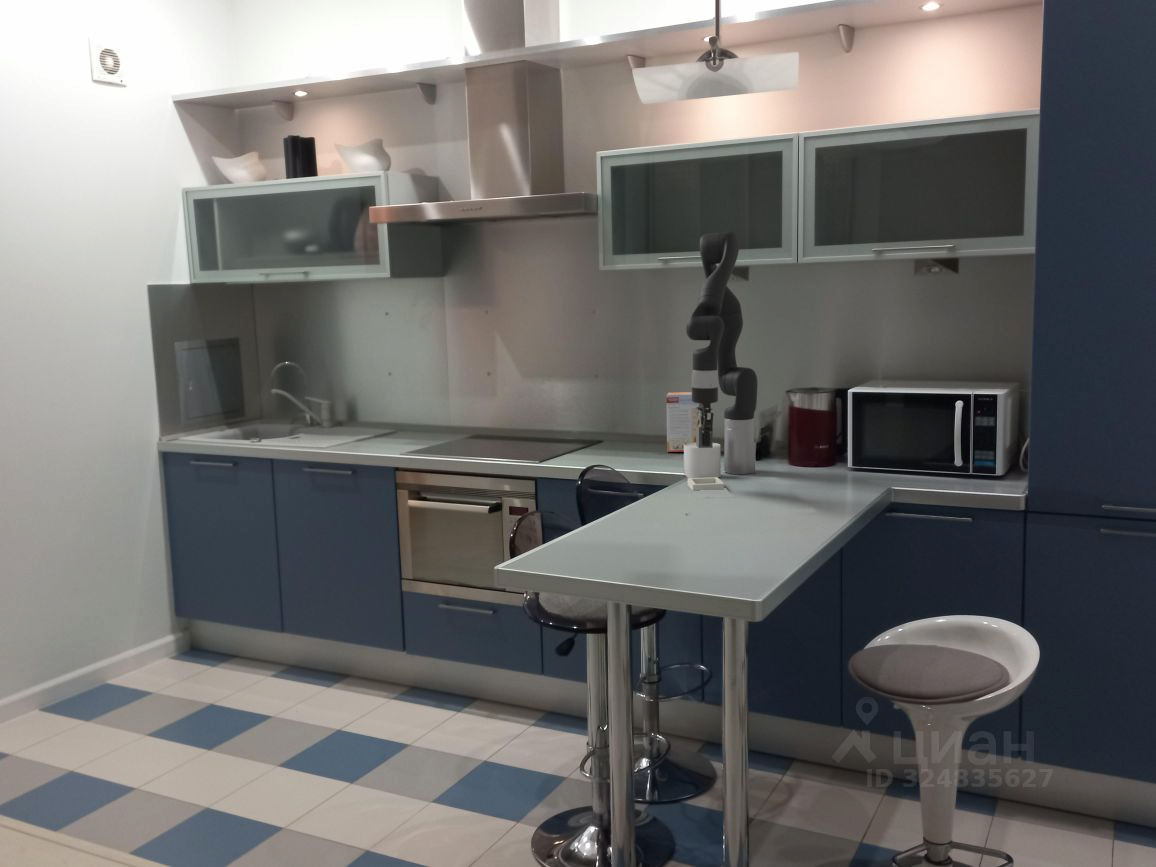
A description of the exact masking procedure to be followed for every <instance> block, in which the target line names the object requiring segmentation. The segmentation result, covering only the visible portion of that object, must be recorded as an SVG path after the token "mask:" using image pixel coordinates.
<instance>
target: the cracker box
mask: <svg viewBox="0 0 1156 867" xmlns="http://www.w3.org/2000/svg"><path fill="white" fill-rule="evenodd" d="M697 407H699V403H695V402H693V401H692V391H691V392H687V391H684V392H680V391H679V392H677V391H676V392H675V391H674V392H667V394H666V448H667V450H666V452H684V445H685V446H686V445H687V444H690V443H696V425H697V410H696V408H697Z"/></svg>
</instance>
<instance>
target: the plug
mask: <svg viewBox="0 0 1156 867" xmlns="http://www.w3.org/2000/svg"><path fill="white" fill-rule="evenodd" d="M706 428H709V427H708V425H706ZM713 430H714V427H713V426H712V432H711V433H710V446H703V445H702V425H696V446H697V447H698V448H713V443H714V441H713V440H714V439H713V438H714V436H713V435H714V433H713V432H714V431H713Z"/></svg>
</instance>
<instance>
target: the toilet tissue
mask: <svg viewBox="0 0 1156 867" xmlns="http://www.w3.org/2000/svg"><path fill="white" fill-rule="evenodd" d="M721 467H722V464H721V444H720V443H716V442H713V448H698V447H697V446H696V443H690V444H687V445H686V446H685V445H684V453H683V474H684V475H685V476H686V478H687V479H688V478H710V477H720V478H721V472H722V470H721Z"/></svg>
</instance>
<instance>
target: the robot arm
mask: <svg viewBox="0 0 1156 867" xmlns="http://www.w3.org/2000/svg"><path fill="white" fill-rule="evenodd" d="M738 240H739V239H738V237H737V235H736V233H735V232H733V231H728V230H727V231H721V232H713V233H712V232H711V233H706V234H703V235H701V237H700V239H699V252H700V253H699V254H700V258H701V263H702V268H703V272H704V276H705V277H704V278H705V281H704V282H703V283H702V286H701V287H700V290H699V295H698V300H697V304H696V306H695V307H694V309H693V311H692V313H691V314H690V316H689V317H688V319H687V322H686V326H685V332H686V335H687V337H688V338H689V339H690V340H693V341H709V344H708V345H707V346H706V347H701V348H697V349H694V351H693V352H692V374H691V392H692V401H693V402H695V403H699V407H697V408H696V410H697V425H702V445H703V446H710V433H711V432H712V427H713V424H714V412H713V411H714V410H713V408H712V405H711V404H714V403H717V402H718V401H719V388H720V391H721V392H722V393H723V394H724V395H726V396H731V397H735V401H734V404H732V406H730V407H727V408H725V409H724V412H723V413H724V414H723V415H724V416H723V417H724V420H723V421H724V423H723V424H724V426H723V427H724V432H723V433H724V435H723V436H724V437H723V438H724V440H723V442H724V444H723V445H724V446H723V448H724V449H723V450H724V452H723V453H724V454H723V456H724V458H723V460H724V461H723V462H724V463H723V467H724V470H723V471H725V473H726V472H727V473H726V474H730V473H731V474H730V475H748V474H755V473H756V451H757V450H756V448H757V446H756V442H755V439H754V438H755V435H754V434H755V432H754V430H755V412H756V409H757V404H758V403H757V402H758V400H757V399H758V375H757V373H756V372H755V370H754V369H753V368H751V367H743V366H742V367H741V366H738V365H737V358H736V348H737V345H738V341H739V339H740V336H741V334H742V330H743V327H744V319H743V313H742V306H741V302H740V301H739V299H738V298H737V296H736V295H735V294H734V292H733V291H732V290H731V289H730V288H729V286H728V283H729V279H730V277H731V275H732V274H733V270H734V268H735V265H736V263H737V259H738V258H739V257H738V256H739V251H740V250H739V249H740V248H739V241H738ZM717 265H718V266H717ZM706 425H708V427H709V428H706Z"/></svg>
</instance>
